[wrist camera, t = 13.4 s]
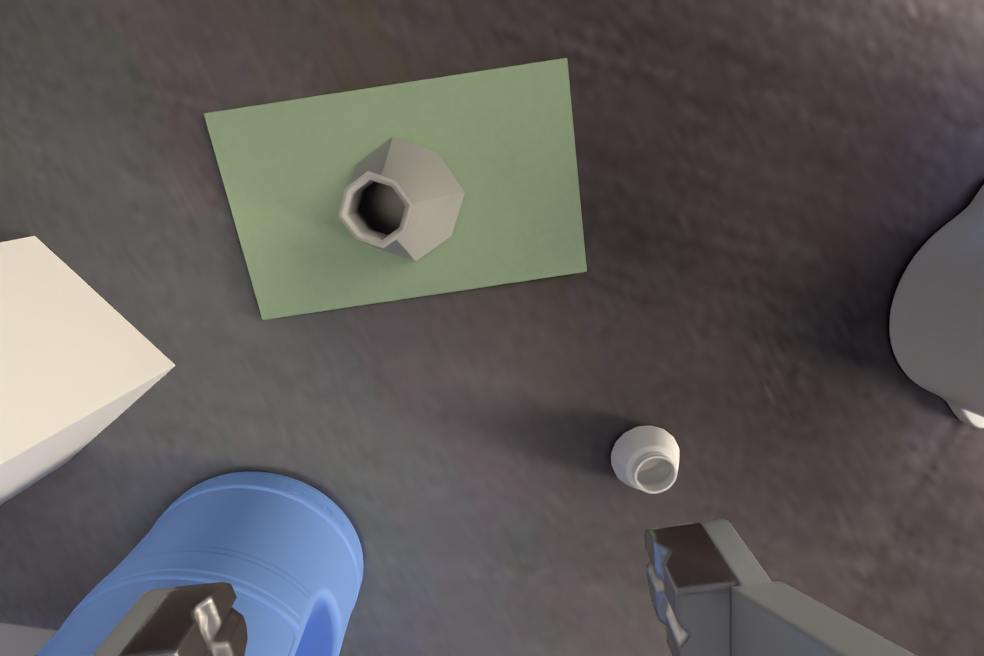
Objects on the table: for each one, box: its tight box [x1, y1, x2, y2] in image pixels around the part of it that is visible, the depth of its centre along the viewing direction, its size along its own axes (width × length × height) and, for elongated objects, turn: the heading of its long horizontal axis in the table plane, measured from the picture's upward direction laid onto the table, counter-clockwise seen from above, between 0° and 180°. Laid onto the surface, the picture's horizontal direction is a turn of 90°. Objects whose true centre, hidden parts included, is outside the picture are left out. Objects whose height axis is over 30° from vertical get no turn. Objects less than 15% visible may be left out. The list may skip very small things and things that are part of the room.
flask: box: [338, 137, 465, 261], centre depth 27 cm, size 7×7×10 cm
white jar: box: [611, 425, 679, 493], centre depth 37 cm, size 5×3×5 cm
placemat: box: [204, 58, 587, 320], centre depth 32 cm, size 22×13×1 cm, turn 98°
